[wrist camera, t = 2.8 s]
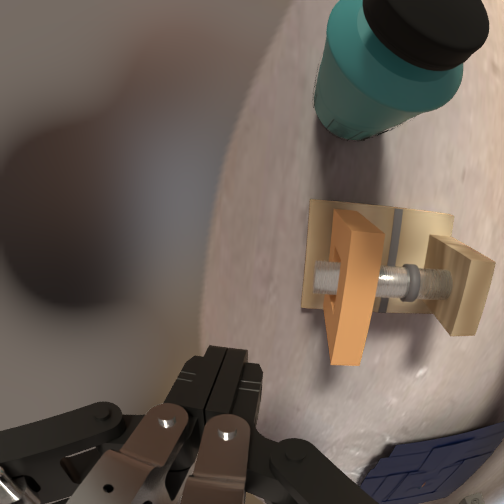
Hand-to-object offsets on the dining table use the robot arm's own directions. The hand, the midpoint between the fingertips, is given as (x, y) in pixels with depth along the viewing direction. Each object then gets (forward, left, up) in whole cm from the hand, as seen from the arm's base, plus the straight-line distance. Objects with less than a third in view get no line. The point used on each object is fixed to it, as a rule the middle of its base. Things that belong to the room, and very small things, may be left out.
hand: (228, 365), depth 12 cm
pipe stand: (-6, -7, -18) cm, 20 cm away
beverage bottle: (+7, -13, -18) cm, 23 cm away
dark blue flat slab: (-47, -2, -18) cm, 50 cm away
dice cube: (-77, -8, -18) cm, 79 cm away
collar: (-4, -5, -16) cm, 17 cm away
